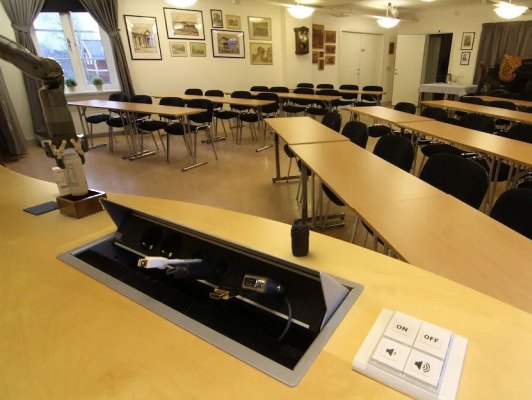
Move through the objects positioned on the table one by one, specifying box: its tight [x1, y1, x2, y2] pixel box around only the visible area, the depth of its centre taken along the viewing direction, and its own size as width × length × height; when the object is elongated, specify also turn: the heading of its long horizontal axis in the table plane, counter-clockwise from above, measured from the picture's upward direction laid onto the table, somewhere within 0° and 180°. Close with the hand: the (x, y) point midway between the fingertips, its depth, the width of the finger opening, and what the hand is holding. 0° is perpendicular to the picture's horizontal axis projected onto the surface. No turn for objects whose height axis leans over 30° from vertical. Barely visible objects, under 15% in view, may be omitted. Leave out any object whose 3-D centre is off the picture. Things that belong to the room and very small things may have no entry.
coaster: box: [22, 200, 59, 216], centre depth 125 cm, size 10×10×1 cm
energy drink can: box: [61, 152, 90, 196], centre depth 118 cm, size 6×6×15 cm
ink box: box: [51, 166, 69, 196], centre depth 140 cm, size 8×5×12 cm, turn 134°
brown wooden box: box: [55, 188, 108, 220], centre depth 123 cm, size 12×12×6 cm
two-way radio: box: [290, 206, 310, 257], centre depth 92 cm, size 6×4×15 cm
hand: (72, 166), depth 117 cm, fingers closed on energy drink can, 6 cm apart
